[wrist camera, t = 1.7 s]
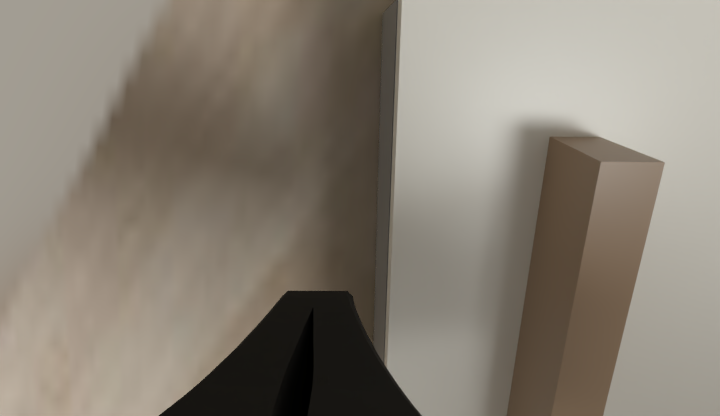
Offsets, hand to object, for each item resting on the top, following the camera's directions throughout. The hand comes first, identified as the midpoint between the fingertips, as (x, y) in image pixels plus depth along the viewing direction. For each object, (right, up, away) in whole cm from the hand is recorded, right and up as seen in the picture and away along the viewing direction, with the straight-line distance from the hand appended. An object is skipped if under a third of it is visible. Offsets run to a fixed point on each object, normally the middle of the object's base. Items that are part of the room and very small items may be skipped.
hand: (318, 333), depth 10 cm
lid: (+7, 0, +2) cm, 8 cm away
